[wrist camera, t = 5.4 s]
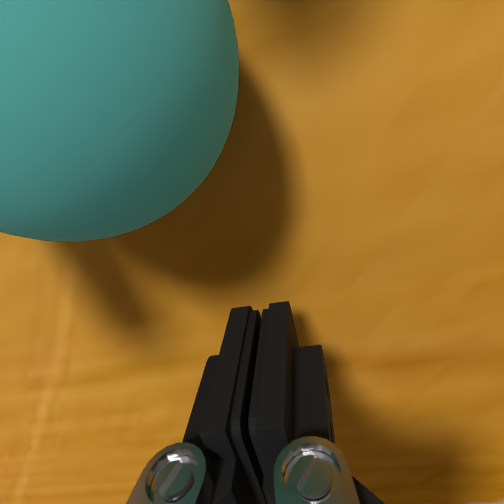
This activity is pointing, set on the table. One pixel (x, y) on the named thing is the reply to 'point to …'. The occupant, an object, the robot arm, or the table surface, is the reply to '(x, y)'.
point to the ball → (110, 111)
